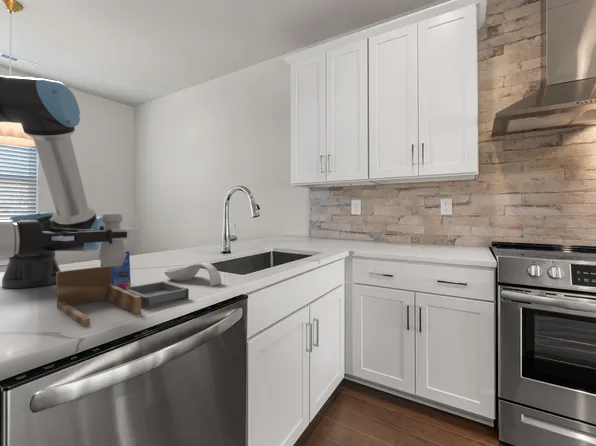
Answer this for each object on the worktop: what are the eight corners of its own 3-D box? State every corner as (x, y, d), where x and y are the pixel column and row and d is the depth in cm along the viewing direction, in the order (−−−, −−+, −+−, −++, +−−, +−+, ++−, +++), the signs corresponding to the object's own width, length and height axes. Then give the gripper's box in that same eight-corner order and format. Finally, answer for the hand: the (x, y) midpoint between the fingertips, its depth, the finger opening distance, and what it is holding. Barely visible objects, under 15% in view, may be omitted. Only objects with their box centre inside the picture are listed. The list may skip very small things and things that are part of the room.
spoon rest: (157, 280, 111) (156, 260, 111) (183, 274, 121) (183, 256, 121) (204, 289, 99) (204, 267, 99) (229, 282, 109) (229, 262, 109)
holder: (56, 307, 79) (56, 271, 78) (108, 297, 88) (108, 265, 88) (83, 326, 66) (82, 284, 66) (140, 312, 75) (140, 276, 75)
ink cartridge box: (99, 287, 99) (99, 242, 98) (118, 284, 103) (118, 241, 102) (111, 293, 92) (111, 244, 92) (131, 289, 97) (131, 243, 96)
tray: (122, 298, 87) (122, 288, 87) (163, 290, 96) (163, 281, 96) (145, 309, 78) (145, 297, 78) (188, 299, 88) (188, 288, 87)
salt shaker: (96, 267, 73) (95, 213, 73) (101, 264, 79) (101, 212, 78) (124, 266, 76) (123, 213, 75) (127, 262, 81) (127, 213, 80)
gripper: (9, 253, 68) (123, 245, 86) (23, 261, 58) (149, 250, 76) (8, 219, 68) (123, 218, 86) (22, 221, 58) (149, 219, 76)
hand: (135, 233), depth 81 cm, fingers closed on salt shaker, 3 cm apart
